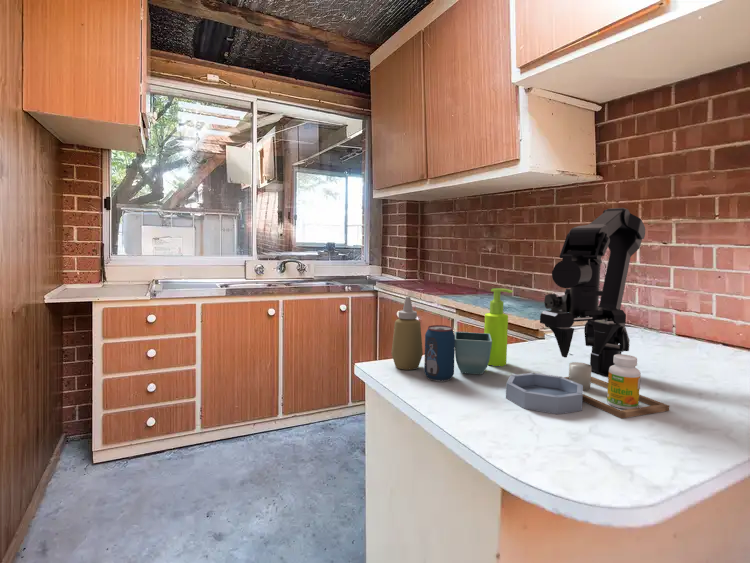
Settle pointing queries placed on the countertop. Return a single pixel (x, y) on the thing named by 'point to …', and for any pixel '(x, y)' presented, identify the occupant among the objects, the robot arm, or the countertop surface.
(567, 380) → the bowl
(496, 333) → the soap dispenser
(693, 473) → the countertop surface
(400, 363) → the squeeze bottle
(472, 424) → the countertop surface
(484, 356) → the flower pot
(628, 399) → the supplement bottle
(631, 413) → the wooden frame
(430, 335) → the soda can
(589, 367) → the white rounded cylinder
